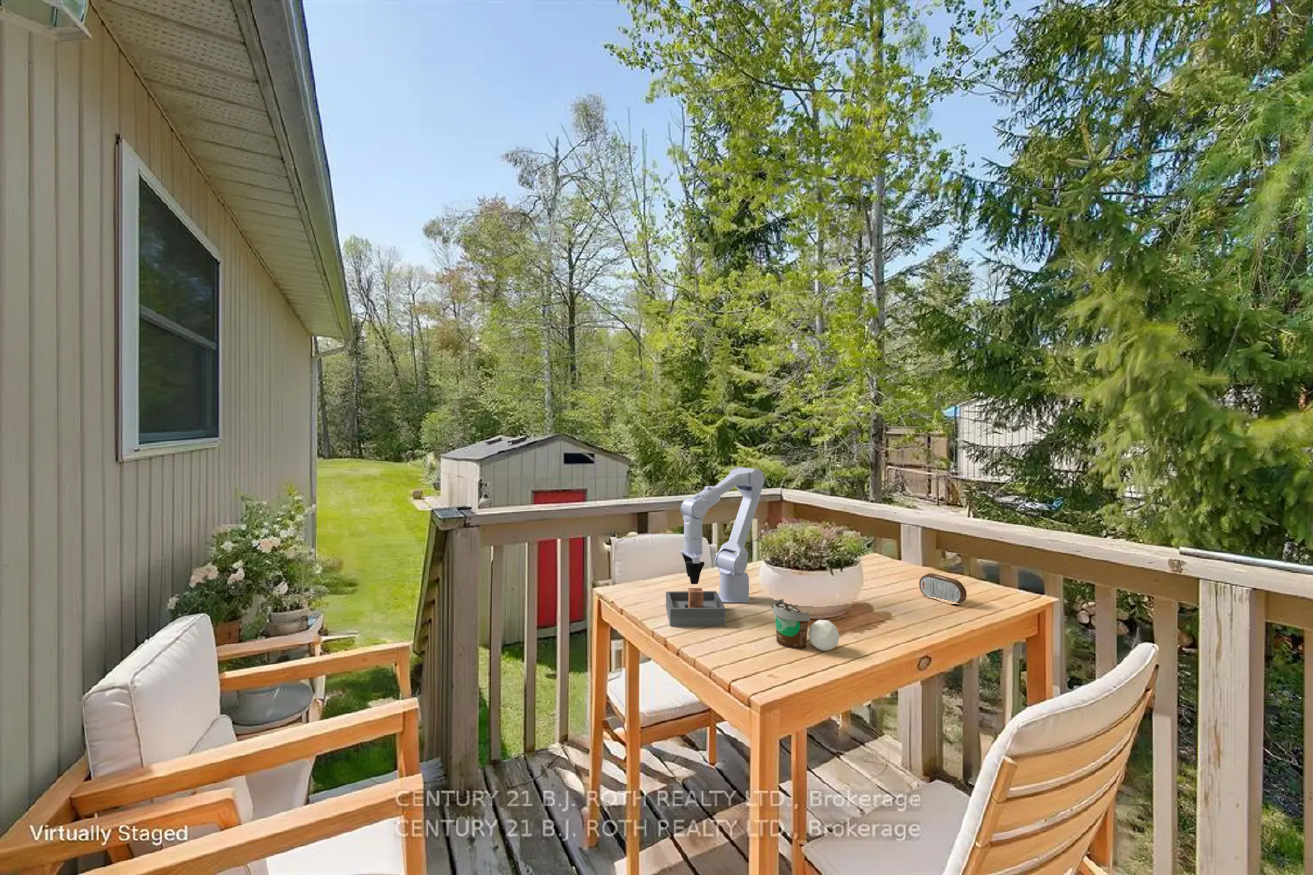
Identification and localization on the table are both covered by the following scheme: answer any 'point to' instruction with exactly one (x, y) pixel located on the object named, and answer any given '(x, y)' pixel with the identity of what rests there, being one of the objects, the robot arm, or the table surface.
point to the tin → (942, 588)
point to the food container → (790, 625)
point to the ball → (823, 635)
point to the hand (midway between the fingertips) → (692, 580)
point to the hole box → (695, 610)
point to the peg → (695, 598)
